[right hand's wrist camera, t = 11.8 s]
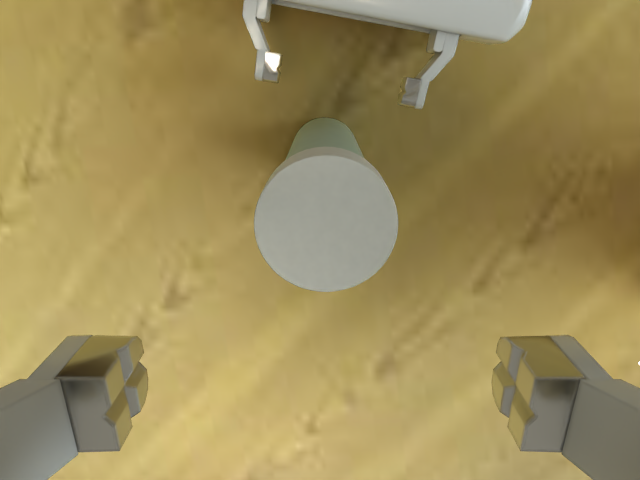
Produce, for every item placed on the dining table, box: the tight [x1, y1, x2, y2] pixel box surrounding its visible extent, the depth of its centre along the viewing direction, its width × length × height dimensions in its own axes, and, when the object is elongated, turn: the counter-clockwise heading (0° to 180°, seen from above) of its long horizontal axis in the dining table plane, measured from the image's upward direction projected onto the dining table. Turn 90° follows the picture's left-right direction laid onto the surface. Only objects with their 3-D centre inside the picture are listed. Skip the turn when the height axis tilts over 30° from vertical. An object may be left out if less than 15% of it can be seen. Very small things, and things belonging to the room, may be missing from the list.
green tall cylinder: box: [286, 118, 364, 159], centre depth 27 cm, size 5×5×18 cm
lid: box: [254, 147, 398, 292], centre depth 19 cm, size 6×6×2 cm
